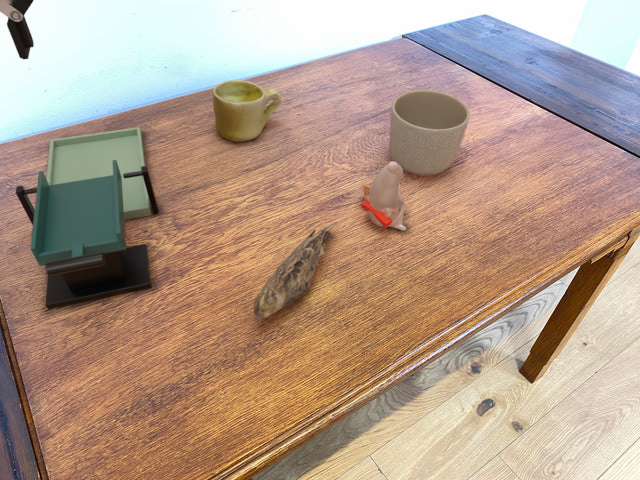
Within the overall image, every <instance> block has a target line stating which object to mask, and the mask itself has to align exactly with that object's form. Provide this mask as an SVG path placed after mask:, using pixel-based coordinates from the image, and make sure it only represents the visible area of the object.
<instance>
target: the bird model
mask: <svg viewBox="0 0 640 480" xmlns="http://www.w3.org/2000/svg"><path fill="white" fill-rule="evenodd" d="M337 224H338V221H335V222H333V223H331V224H330V225H328V226H325V227H324V228H323V229H321V230H319V231H318V232H317V233H316V229H315V228H314V229H313V230H312V231H311V232H310V233H309V235H308V236H306V238H305V239H304V240H303V241H302V242H300V243H299V244H298V246H297V247H295V248H294V250H293V251H292V252H291V253H290V254H289V255H288V256H287V257H286V258H285V259H284V260H283V261H282V262H281V263H280V264H279V266H278V267H277V268H276V270H275V271H274V272H273V274H272V275H271V276H270V277H269V278H268V279H267V280H266V282H265V283H264V284H263V286H262V288H261V290H260V292H259V293H257V296H256V297H255V299H254V302H253V313H254V315H255V316H256V320H257V322H258V325H260V324H261V322H262V320H263V319H266V318H268V317H270V316H271V315H273V314H275V313H277V312H278V311H280V310H281V309H283V308H285V307H287V306H288V305H290V304H291V303H293V302H295V301H296V300H298V299H300V298H302V297H304V296H305V295H306V294H307V292H308V291H309V289H310V287H311V285H312V282H313V280H314V277H315V273H316V268H318V267H319V261H320V257H321V256H324V254H325V251H324V249H326V247H325V245H326V243H328V241H329V240H332V239H333V236H330V234H331V232H329V231H330V230H331V229H332V227H334V226H335V225H337ZM315 233H316V234H315Z"/></svg>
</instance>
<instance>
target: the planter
mask: <svg viewBox="0 0 640 480" xmlns="http://www.w3.org/2000/svg"><path fill="white" fill-rule="evenodd" d="M390 112H391V113H390V120H389V121H390V122H389V153H390V157H391V159H392V161H395V162H397V163H398V165H400V166H401V167H402V169H403V172H406V173H408V174H411V175H413V176H419V177H431V176H436V175H438V174H441V173H443V172H445V171H446V170H448V169H449V168H450V167H451V166H452V164H453V163H454V161H455V159H456V157H457V156H458V153H459V150H460V148H461V145H462V143H463V140H464V137H465V134H466V131H467V127H468V124H469V121H470V117H471V112H470V109H469V107H468V105H467V104H466V103H465V102H464V101H463V100H461V99H460V98H458V97H456V96H455V95H453V94H450V93H446V92H444V91H440V90H435V89H414V90H408V91H406V92H403V93H401V94H399V95H398V96H396V97H395V98H394V100H393V102H392V105H391V110H390Z"/></svg>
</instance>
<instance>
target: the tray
mask: <svg viewBox="0 0 640 480" xmlns="http://www.w3.org/2000/svg"><path fill="white" fill-rule="evenodd" d="M144 149H145V148H144V139H143V133H142V129H141V127H140V126H137V127H131V128H123V129H117V130H110V131H101V132H95V133H88V134H81V135H74V136H73V135H72V136H67V137H59V138H52V139H49V149H48V160H47V168H46V169H47V170H46V179H47V182H48V184H49V185H55V184H61V183H67V182H73V181H80V180H86V179H92V178H98V177H105V176H111V175H113V162H112V161H113V160H116V161H117V164H118V167H119V170H120V174H121V178H122V193H123V208H124V221H126V220H133V219H138V218H143V217H149V216H152V215H153V214H152V207H151V203H150V200H149V196H148V193H147V189H146V186H145V182H144V179H143V176H137V177H131V178H124V176H123V174H124V173H131V172H137V171H141V167H142V166H147V164H146V158H145V150H144Z"/></svg>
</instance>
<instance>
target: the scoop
mask: <svg viewBox="0 0 640 480" xmlns="http://www.w3.org/2000/svg"><path fill="white" fill-rule="evenodd" d="M112 162H113V175H111V176H105V177H98V178H92V179H86V180H80V181H73V182H67V183H61V184H55V185H49V184H48V182H47V176H46V174H45V173H44V171H43V170H41V171H38V178H37V187H36V188H37V193H35V203H34V209H35V212H34V221H33V225H32V231H31V239H30V250H31V253H32V255H33V256H34V259H35V260H36V262H37V264H38V266H39V267H42V266H45V271H46V274H47V276H48V275H49V276H53V275H58V274H63V273H68V272H73V271H78V270H83V269H88V268H93V267H98V266H103V265H105V264H106V260H105V256H104V254H105V253H110V252H115V251H120V250H126V247H127V240H126V239H127V237H126V225H125V224H126V223H125V220H124V208H123V193H122V178H121V174H120V170H119V167H118V164H117V161H116V160H113V161H112Z"/></svg>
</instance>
